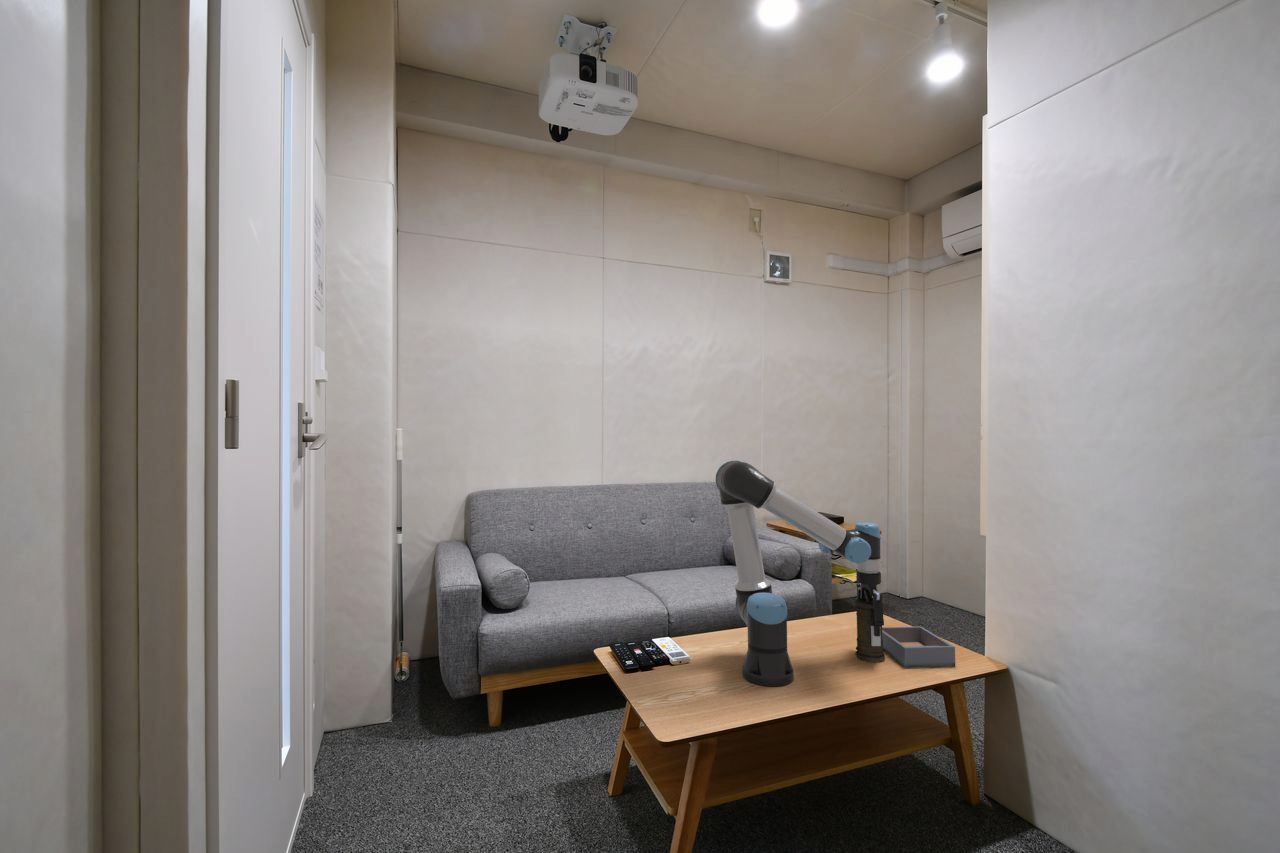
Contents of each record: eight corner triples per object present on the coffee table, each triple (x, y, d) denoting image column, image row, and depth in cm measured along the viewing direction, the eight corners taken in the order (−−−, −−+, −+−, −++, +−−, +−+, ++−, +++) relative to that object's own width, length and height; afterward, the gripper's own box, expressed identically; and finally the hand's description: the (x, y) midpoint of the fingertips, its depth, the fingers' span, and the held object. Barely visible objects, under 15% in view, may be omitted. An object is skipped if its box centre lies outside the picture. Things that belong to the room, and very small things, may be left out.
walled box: (904, 667, 178) (904, 648, 178) (876, 644, 198) (875, 627, 198) (955, 666, 179) (955, 646, 179) (921, 643, 199) (921, 626, 199)
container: (881, 664, 181) (879, 607, 181) (851, 658, 186) (850, 602, 187) (888, 656, 188) (887, 600, 188) (860, 650, 193) (859, 596, 194)
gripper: (895, 578, 177) (896, 652, 177) (866, 563, 198) (867, 630, 198) (871, 578, 177) (872, 652, 177) (844, 564, 198) (846, 630, 198)
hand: (870, 640), depth 187 cm, fingers closed on container, 8 cm apart
